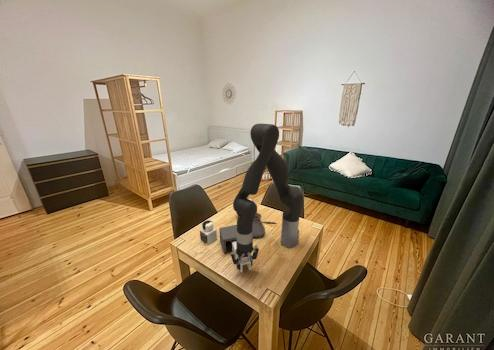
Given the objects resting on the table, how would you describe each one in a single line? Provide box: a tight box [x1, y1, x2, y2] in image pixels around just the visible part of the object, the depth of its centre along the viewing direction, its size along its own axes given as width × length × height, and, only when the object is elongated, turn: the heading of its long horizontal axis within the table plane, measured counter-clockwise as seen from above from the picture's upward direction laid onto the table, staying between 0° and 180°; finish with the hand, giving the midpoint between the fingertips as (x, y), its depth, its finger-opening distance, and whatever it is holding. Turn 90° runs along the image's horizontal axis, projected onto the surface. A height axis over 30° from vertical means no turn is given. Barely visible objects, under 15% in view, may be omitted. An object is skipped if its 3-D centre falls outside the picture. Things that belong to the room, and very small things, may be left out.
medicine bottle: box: [199, 219, 218, 245], centre depth 120 cm, size 7×7×12 cm
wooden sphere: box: [235, 197, 258, 218], centre depth 141 cm, size 15×15×15 cm
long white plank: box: [231, 241, 252, 273], centre depth 103 cm, size 16×5×5 cm, turn 19°
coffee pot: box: [252, 212, 277, 238], centre depth 121 cm, size 21×12×15 cm, turn 44°
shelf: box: [218, 224, 237, 255], centre depth 116 cm, size 11×14×10 cm
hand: (244, 267), depth 98 cm, fingers closed on long white plank, 5 cm apart
